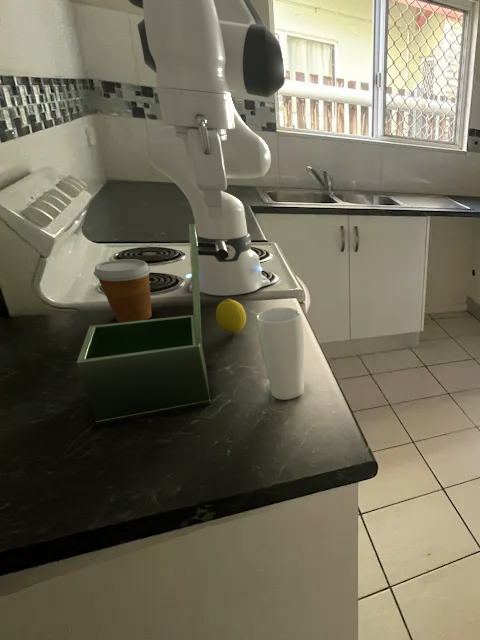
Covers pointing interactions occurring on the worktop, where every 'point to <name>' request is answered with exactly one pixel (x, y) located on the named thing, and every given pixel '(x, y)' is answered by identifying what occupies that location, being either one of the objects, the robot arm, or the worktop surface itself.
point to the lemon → (230, 316)
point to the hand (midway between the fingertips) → (214, 211)
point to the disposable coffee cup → (126, 288)
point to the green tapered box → (143, 369)
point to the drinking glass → (282, 350)
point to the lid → (194, 252)
